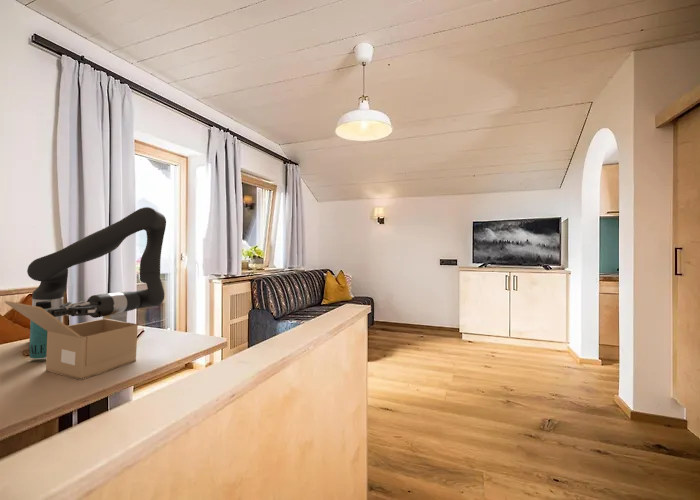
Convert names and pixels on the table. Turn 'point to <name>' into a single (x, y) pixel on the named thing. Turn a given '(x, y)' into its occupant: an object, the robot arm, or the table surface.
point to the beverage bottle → (38, 336)
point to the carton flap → (42, 318)
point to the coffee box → (117, 316)
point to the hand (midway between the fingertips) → (48, 313)
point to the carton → (92, 348)
